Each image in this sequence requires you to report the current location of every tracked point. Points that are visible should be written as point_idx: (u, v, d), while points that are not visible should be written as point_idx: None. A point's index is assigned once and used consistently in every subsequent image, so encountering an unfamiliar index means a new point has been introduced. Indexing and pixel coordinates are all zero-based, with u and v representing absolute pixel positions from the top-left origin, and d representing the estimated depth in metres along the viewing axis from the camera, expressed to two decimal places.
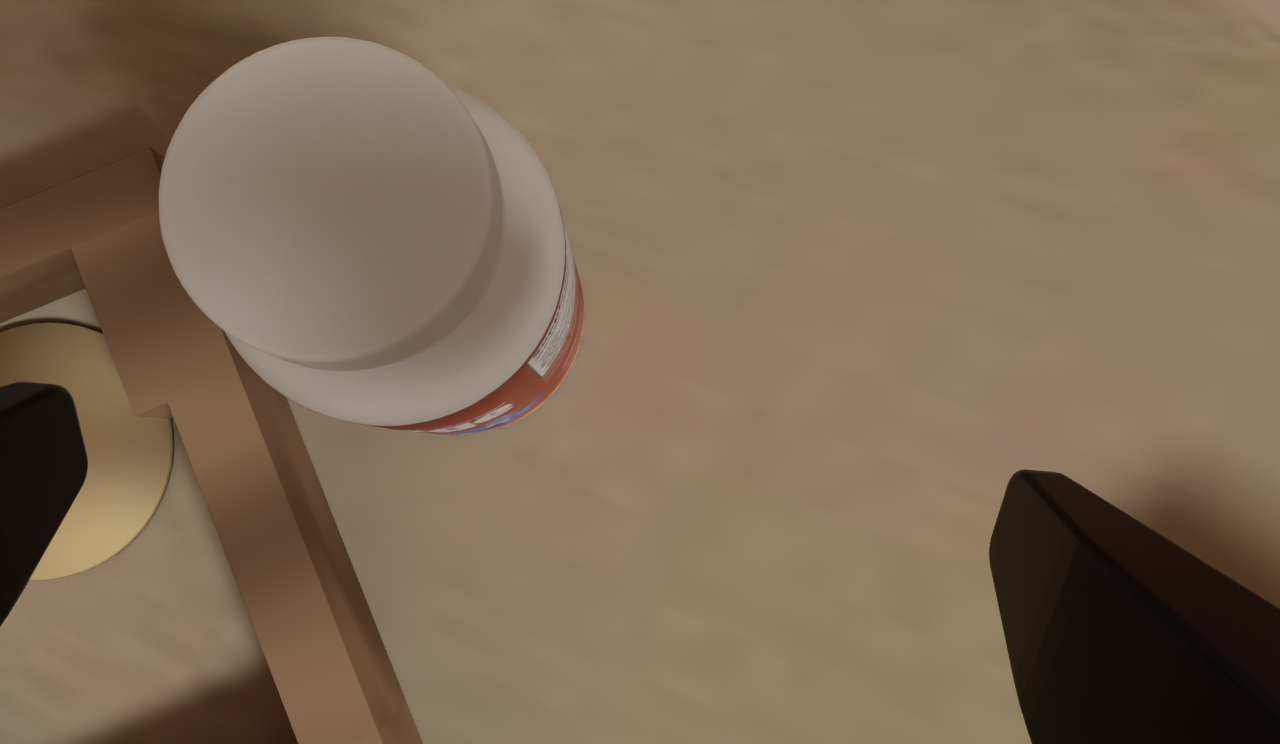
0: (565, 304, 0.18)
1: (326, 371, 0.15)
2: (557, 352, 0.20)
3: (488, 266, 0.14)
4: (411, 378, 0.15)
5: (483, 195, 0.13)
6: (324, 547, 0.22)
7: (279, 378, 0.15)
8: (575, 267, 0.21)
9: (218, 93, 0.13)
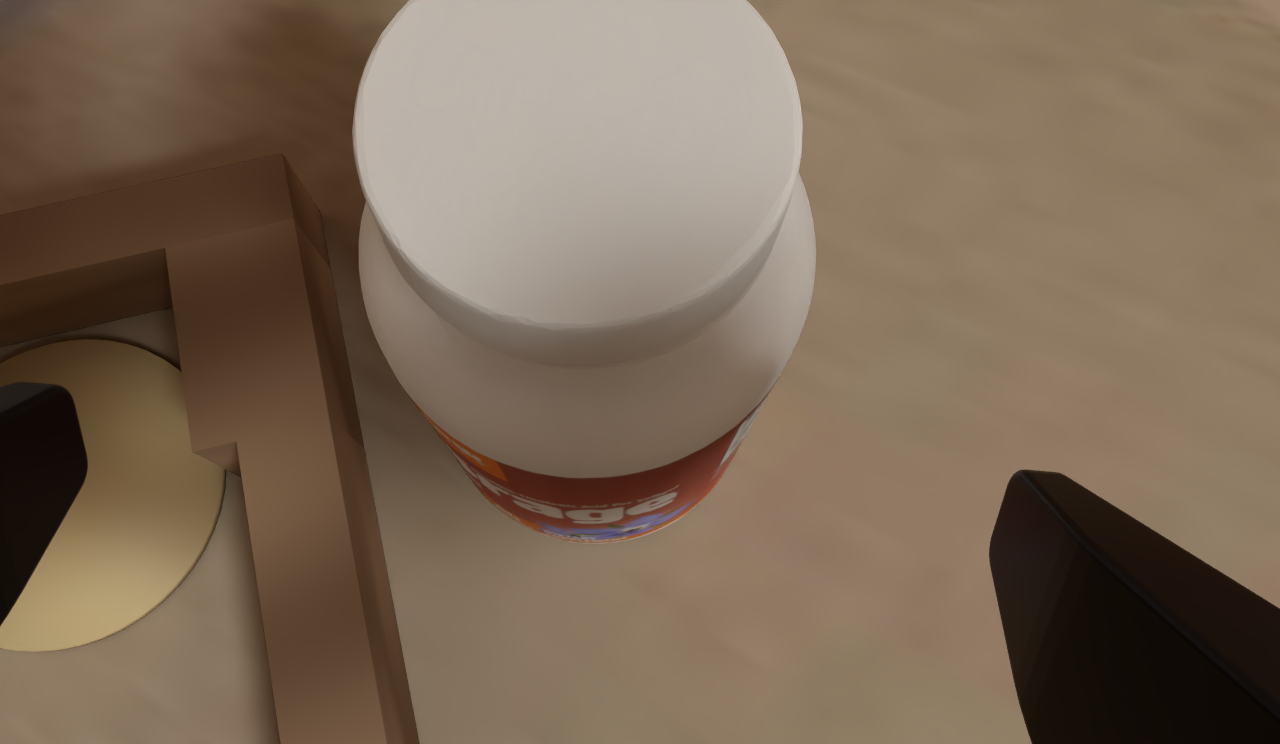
0: None
1: (504, 376, 0.11)
2: (742, 438, 0.15)
3: (770, 249, 0.10)
4: (616, 403, 0.11)
5: (792, 144, 0.10)
6: (386, 658, 0.17)
7: (435, 380, 0.11)
8: None
9: None
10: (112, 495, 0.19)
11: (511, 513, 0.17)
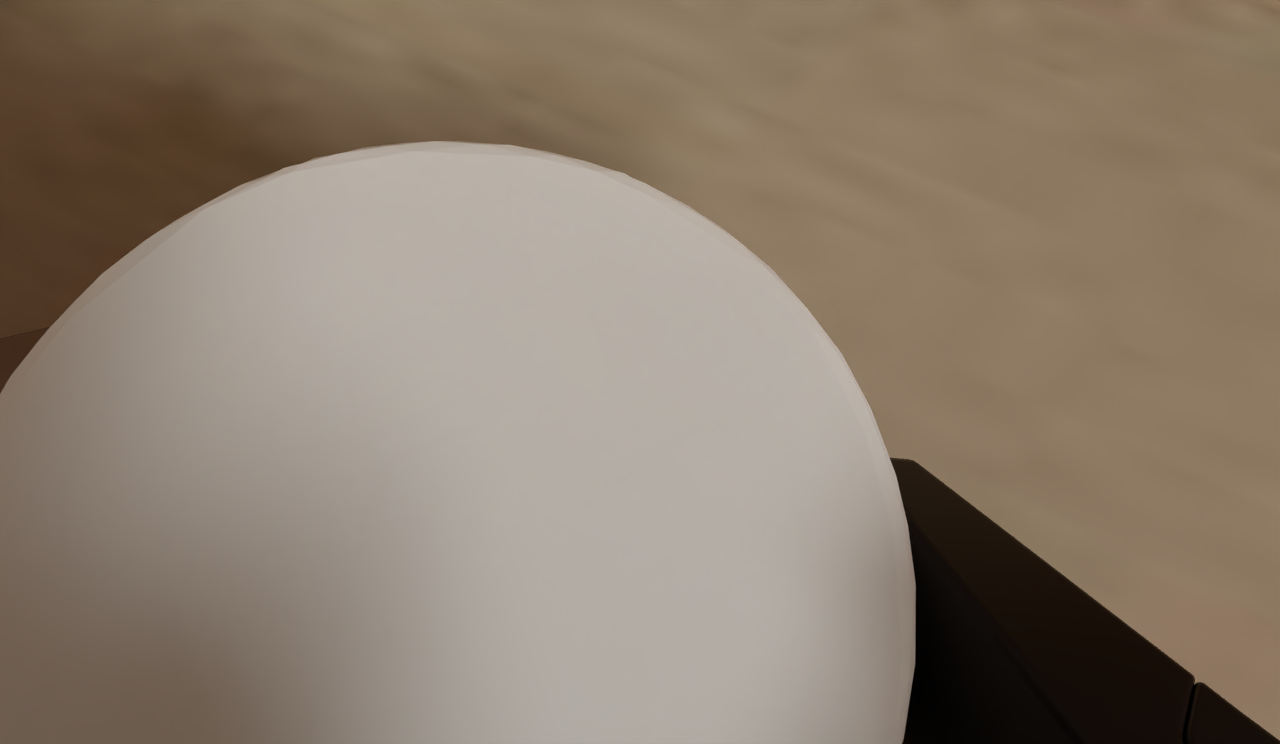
0: None
1: None
2: None
3: None
4: None
5: (898, 645, 0.04)
6: None
7: None
8: None
9: (192, 245, 0.05)
10: None
11: None
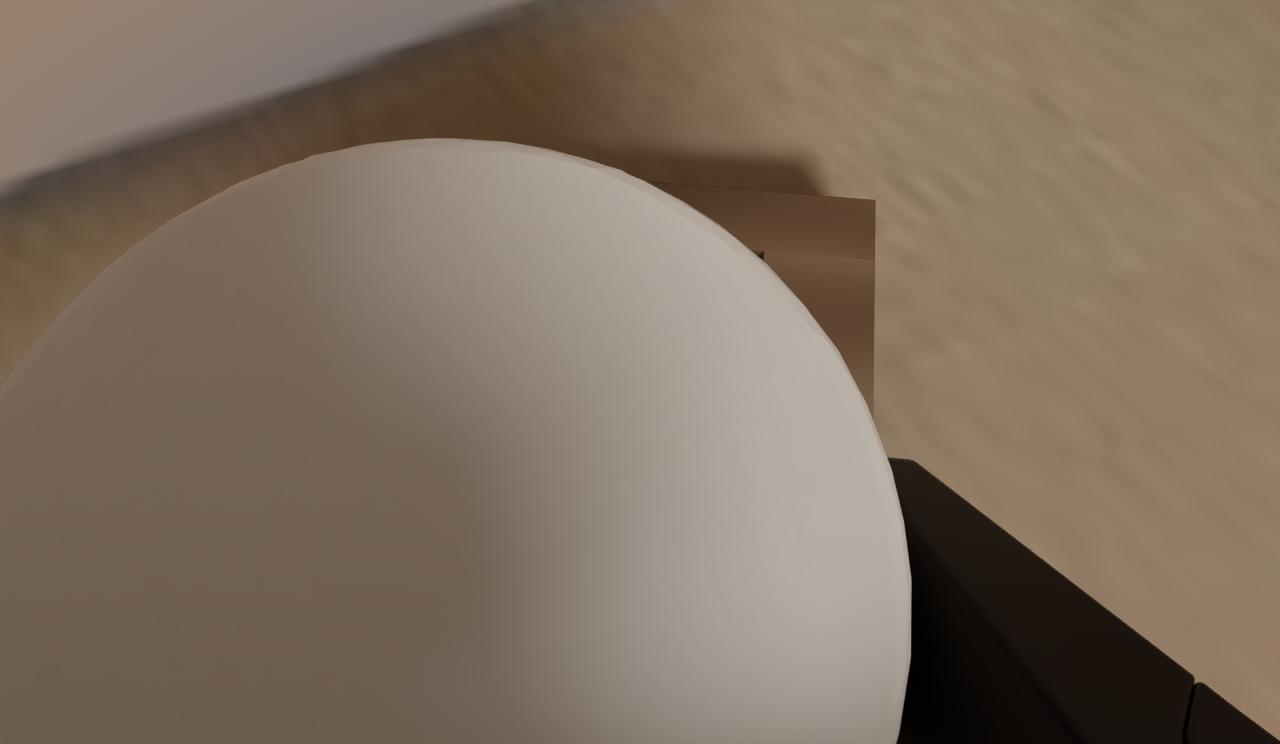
0: None
1: None
2: None
3: None
4: None
5: (893, 640, 0.04)
6: None
7: None
8: None
9: (191, 243, 0.05)
10: None
11: None
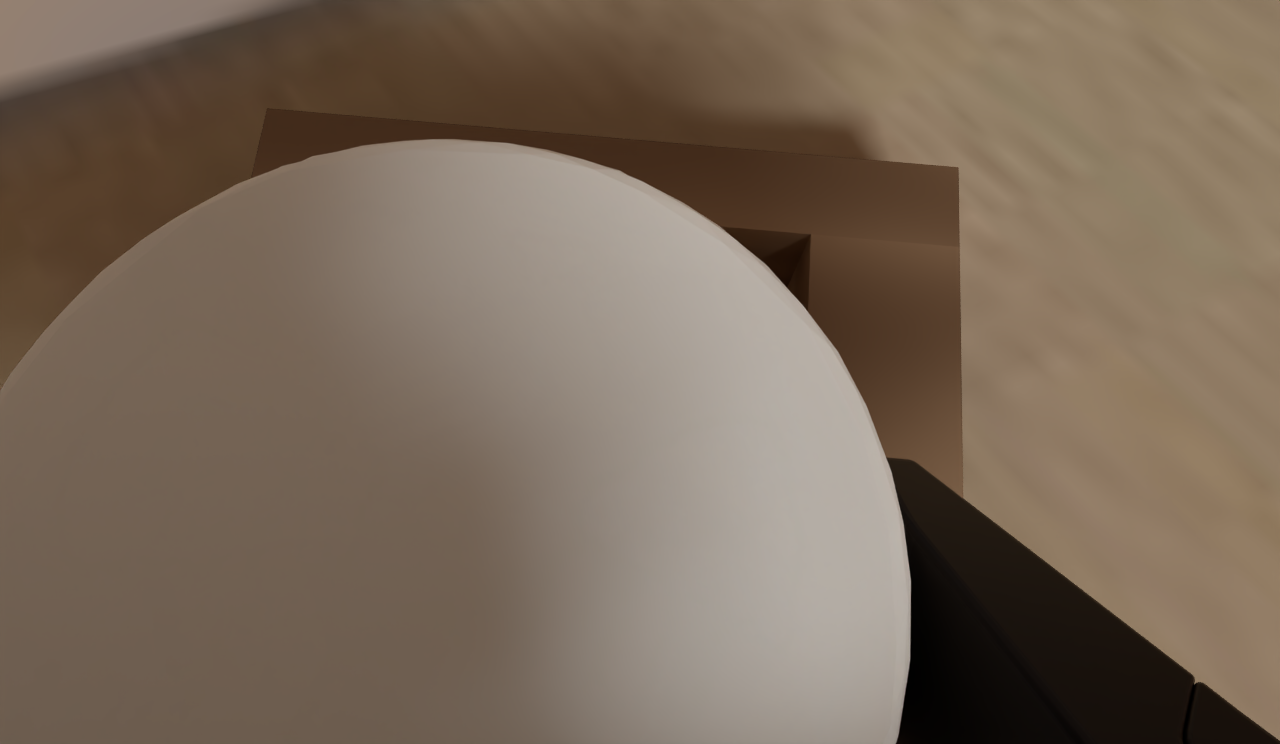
0: None
1: None
2: None
3: None
4: None
5: (893, 642, 0.04)
6: None
7: None
8: None
9: (190, 243, 0.05)
10: None
11: None
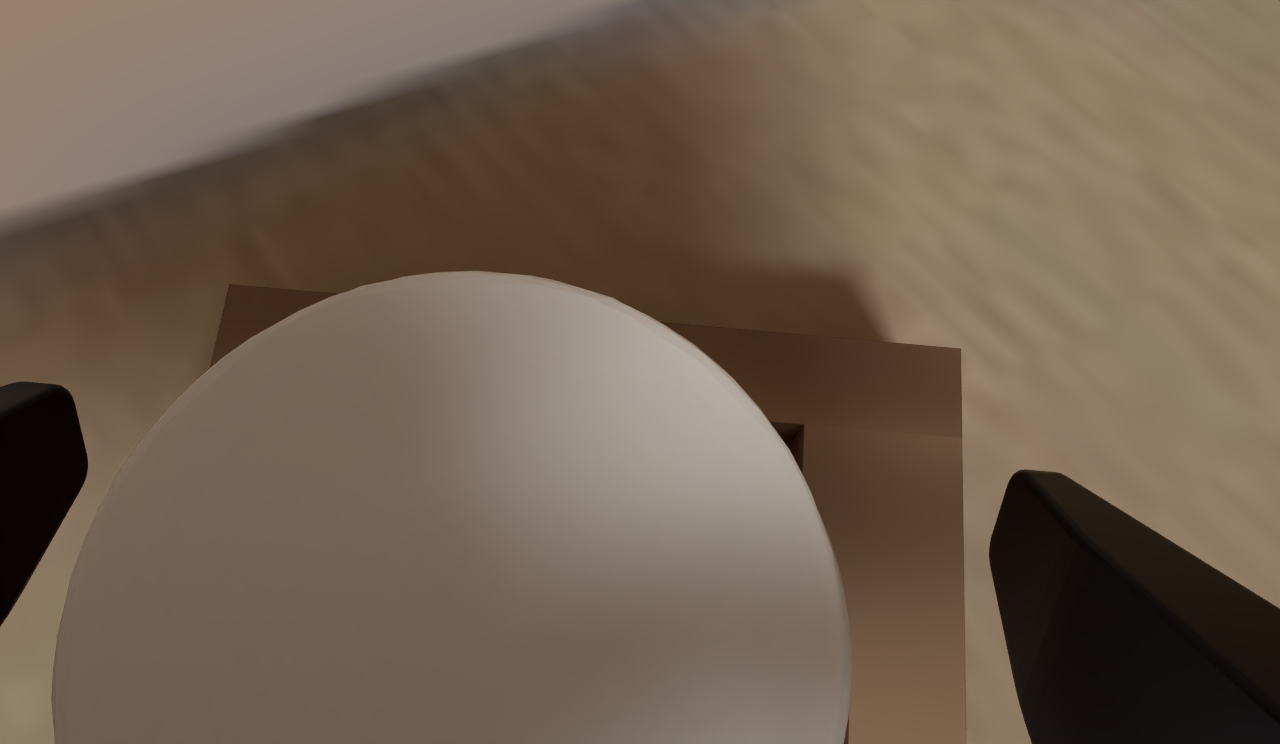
0: None
1: None
2: None
3: None
4: None
5: (829, 689, 0.05)
6: None
7: None
8: None
9: (262, 362, 0.06)
10: None
11: None
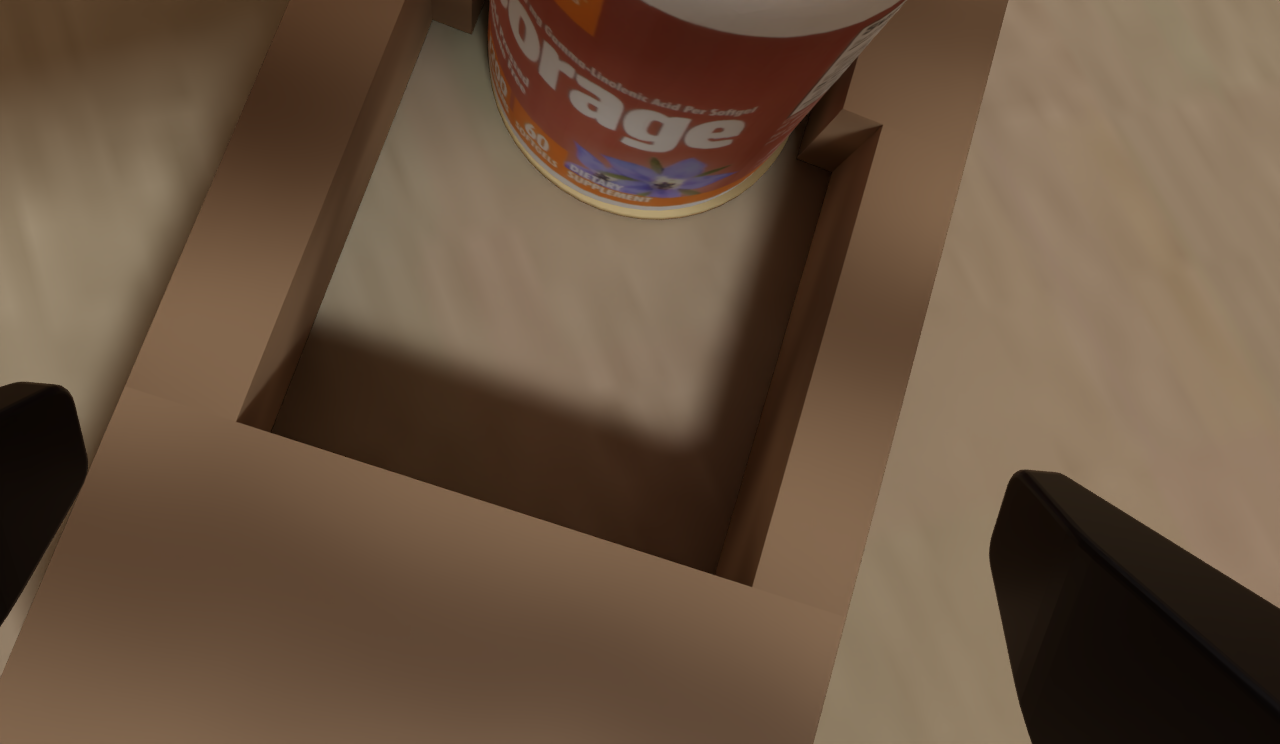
0: None
1: None
2: (821, 94, 0.15)
3: None
4: None
5: None
6: None
7: None
8: None
9: None
10: None
11: (543, 135, 0.16)
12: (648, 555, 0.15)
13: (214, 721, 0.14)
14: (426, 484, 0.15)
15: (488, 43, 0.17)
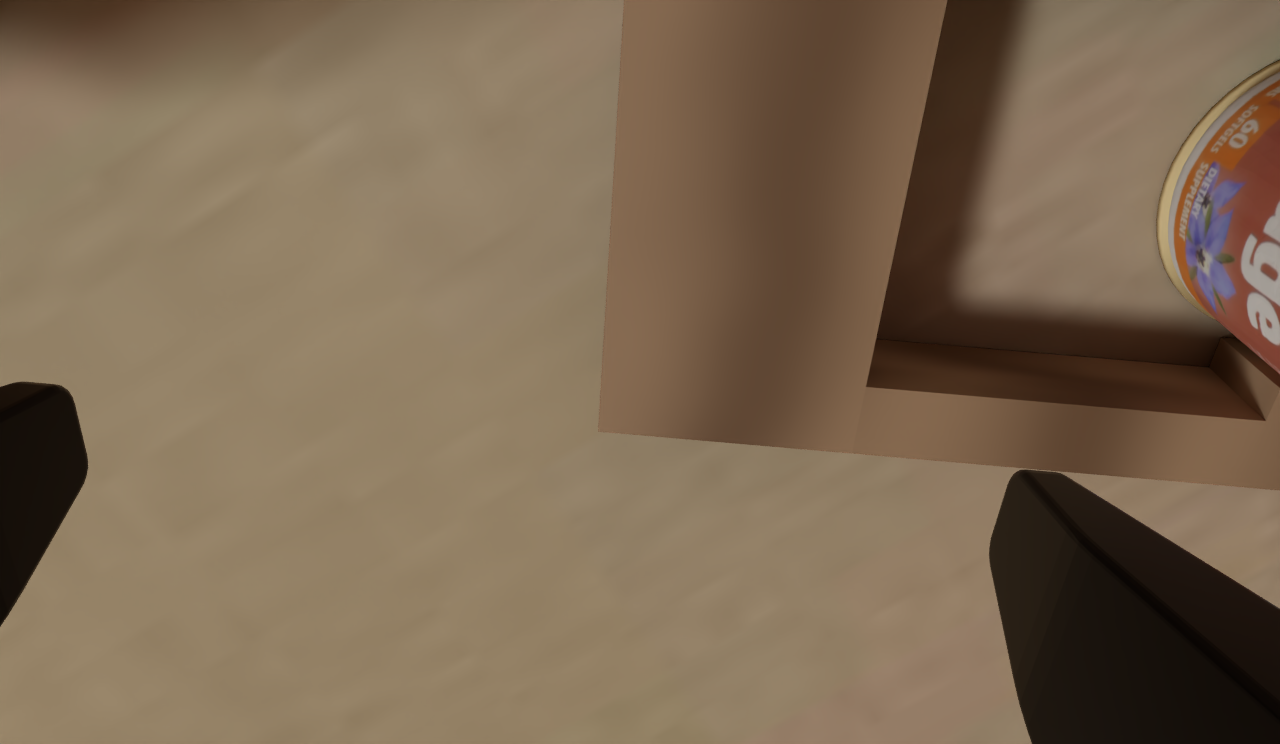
0: None
1: None
2: None
3: None
4: None
5: None
6: None
7: None
8: None
9: None
10: None
11: (1247, 145, 0.18)
12: (881, 310, 0.19)
13: (705, 10, 0.17)
14: (918, 128, 0.18)
15: None
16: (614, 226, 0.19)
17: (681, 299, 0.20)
